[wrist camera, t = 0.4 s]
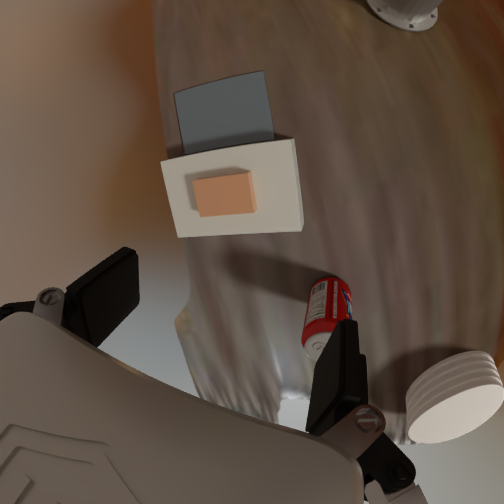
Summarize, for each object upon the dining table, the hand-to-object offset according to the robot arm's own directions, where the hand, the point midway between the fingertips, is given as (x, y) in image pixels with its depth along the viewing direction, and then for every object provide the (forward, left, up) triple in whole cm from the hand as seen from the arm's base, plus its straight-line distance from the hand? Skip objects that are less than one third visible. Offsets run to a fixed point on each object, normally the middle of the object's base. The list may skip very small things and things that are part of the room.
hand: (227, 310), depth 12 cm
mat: (-11, -12, -35) cm, 39 cm away
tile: (+2, -12, -31) cm, 33 cm away
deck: (+2, -12, -35) cm, 37 cm away
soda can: (+23, +3, -35) cm, 42 cm away
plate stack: (+56, +39, -36) cm, 77 cm away
